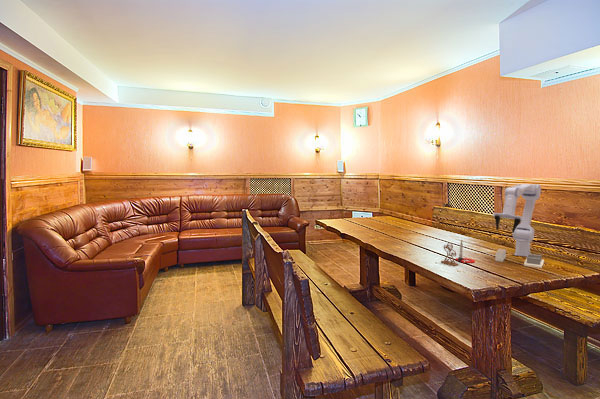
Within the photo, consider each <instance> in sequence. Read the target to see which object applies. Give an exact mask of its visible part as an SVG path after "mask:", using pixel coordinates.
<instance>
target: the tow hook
mask: <svg viewBox="0 0 600 399" xmlns="http://www.w3.org/2000/svg"><path fill="white" fill-rule="evenodd" d="M463 245H464V244H463V239H461V240H460V245H459V253H458V254H459V256H458V257H455V259H454V261H457V262H460V263H462V264H473V263H475V262H476V261H475V259H472V258H467V257H463Z"/></svg>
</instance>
